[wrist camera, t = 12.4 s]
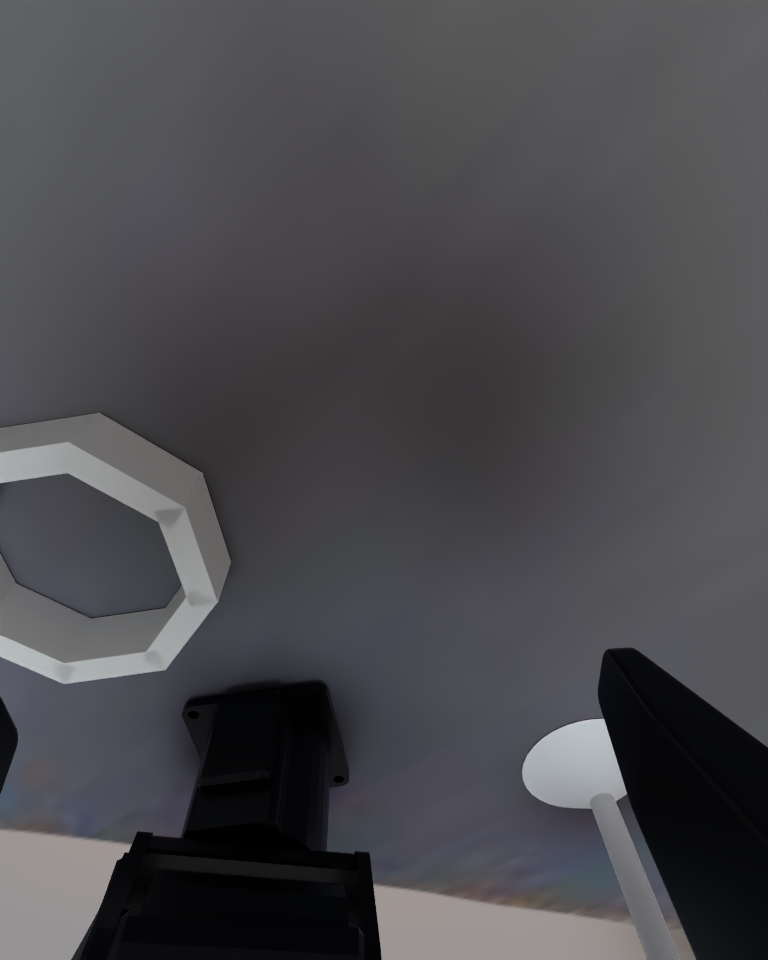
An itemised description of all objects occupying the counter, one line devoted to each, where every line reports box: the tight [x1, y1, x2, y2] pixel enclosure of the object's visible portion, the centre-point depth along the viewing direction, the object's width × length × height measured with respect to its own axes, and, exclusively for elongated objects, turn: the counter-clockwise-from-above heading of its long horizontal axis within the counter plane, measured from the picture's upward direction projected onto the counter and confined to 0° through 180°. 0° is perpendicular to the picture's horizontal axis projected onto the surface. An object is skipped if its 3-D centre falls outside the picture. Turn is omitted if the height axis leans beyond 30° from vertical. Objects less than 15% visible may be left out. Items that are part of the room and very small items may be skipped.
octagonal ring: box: [0, 413, 231, 684], centre depth 21 cm, size 10×10×2 cm
